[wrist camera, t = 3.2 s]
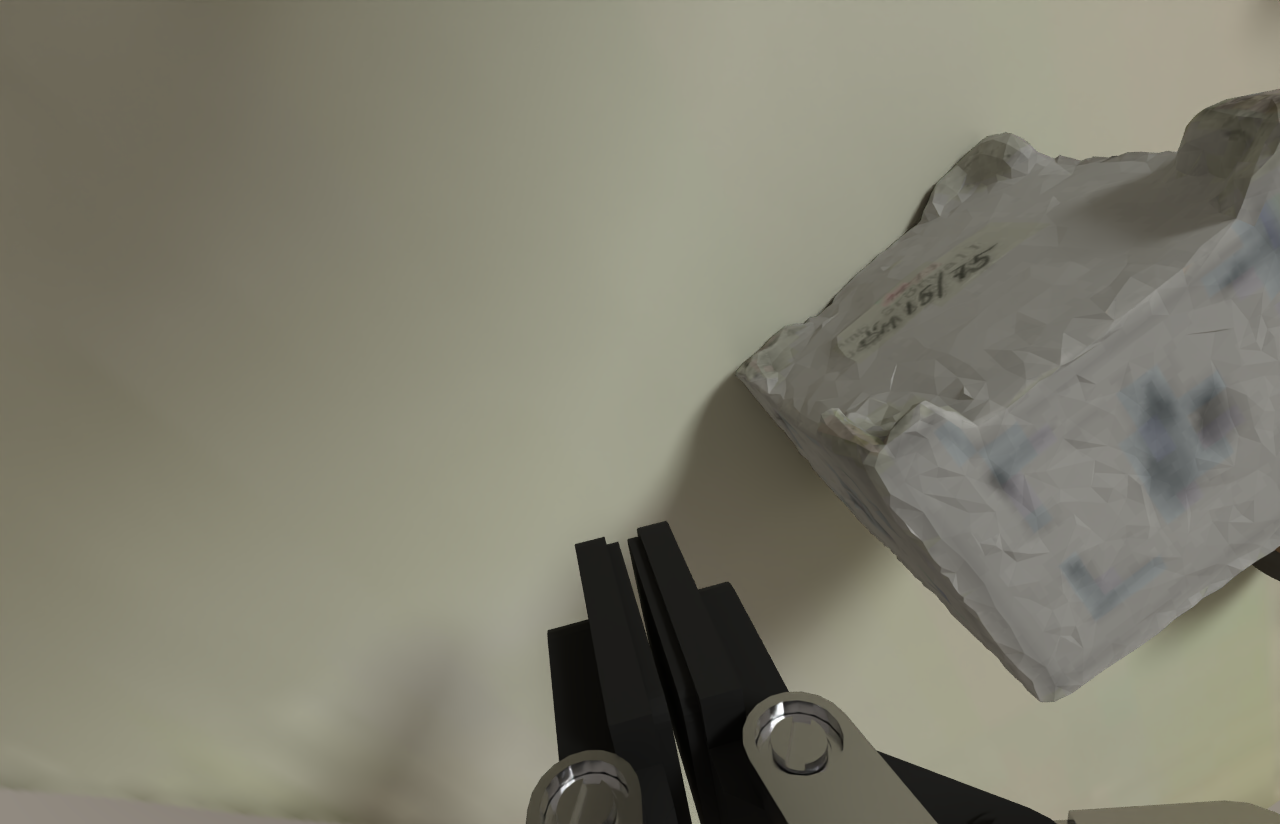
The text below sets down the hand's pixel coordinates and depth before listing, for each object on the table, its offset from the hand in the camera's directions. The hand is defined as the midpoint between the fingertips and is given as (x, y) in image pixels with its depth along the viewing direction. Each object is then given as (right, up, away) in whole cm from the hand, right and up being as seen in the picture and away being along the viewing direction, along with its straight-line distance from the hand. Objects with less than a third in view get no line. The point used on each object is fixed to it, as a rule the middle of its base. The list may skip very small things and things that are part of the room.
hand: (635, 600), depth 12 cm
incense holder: (+8, +6, +9) cm, 14 cm away
